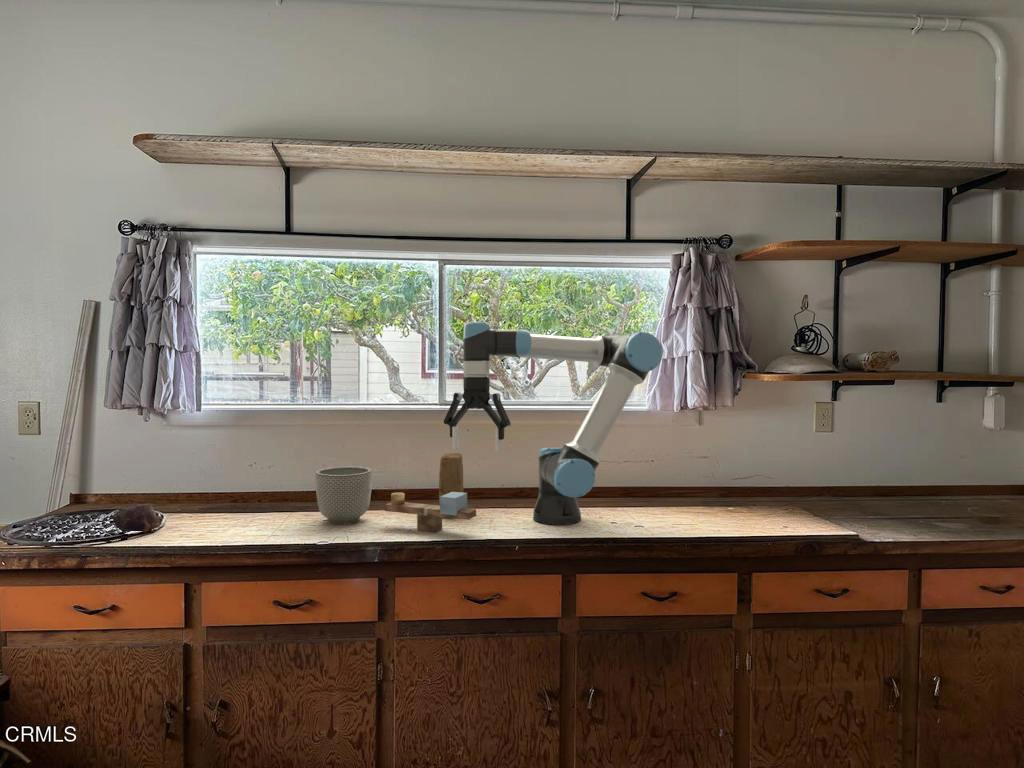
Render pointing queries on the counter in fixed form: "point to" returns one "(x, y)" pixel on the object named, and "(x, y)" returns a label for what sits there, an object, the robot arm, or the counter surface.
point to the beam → (425, 513)
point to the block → (450, 474)
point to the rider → (452, 503)
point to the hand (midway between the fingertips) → (476, 450)
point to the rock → (137, 518)
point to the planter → (343, 493)
